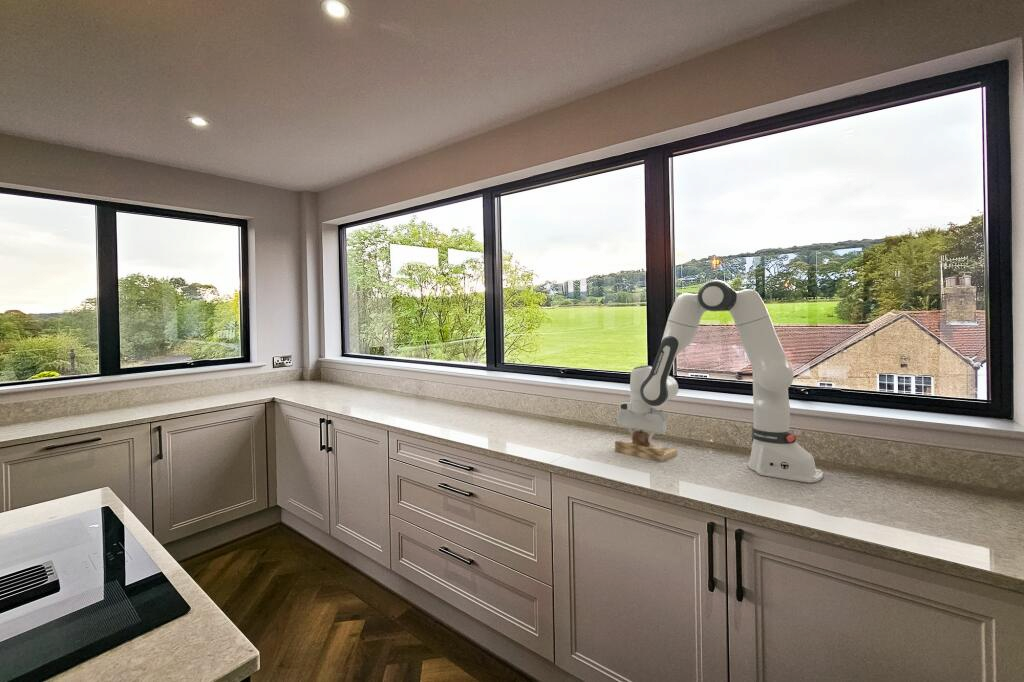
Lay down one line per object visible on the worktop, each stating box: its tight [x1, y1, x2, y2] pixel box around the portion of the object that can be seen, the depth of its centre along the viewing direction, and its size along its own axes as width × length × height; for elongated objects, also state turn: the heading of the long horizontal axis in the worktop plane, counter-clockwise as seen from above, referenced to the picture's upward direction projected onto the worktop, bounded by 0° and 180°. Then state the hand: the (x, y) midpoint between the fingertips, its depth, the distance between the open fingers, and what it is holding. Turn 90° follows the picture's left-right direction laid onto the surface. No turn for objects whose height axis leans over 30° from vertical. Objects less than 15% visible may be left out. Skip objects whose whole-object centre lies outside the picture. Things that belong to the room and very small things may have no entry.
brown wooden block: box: [631, 429, 651, 447], centre depth 190 cm, size 5×5×6 cm
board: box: [614, 439, 678, 463], centre depth 187 cm, size 20×12×4 cm, turn 45°
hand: (641, 440), depth 190 cm, fingers closed on brown wooden block, 5 cm apart
